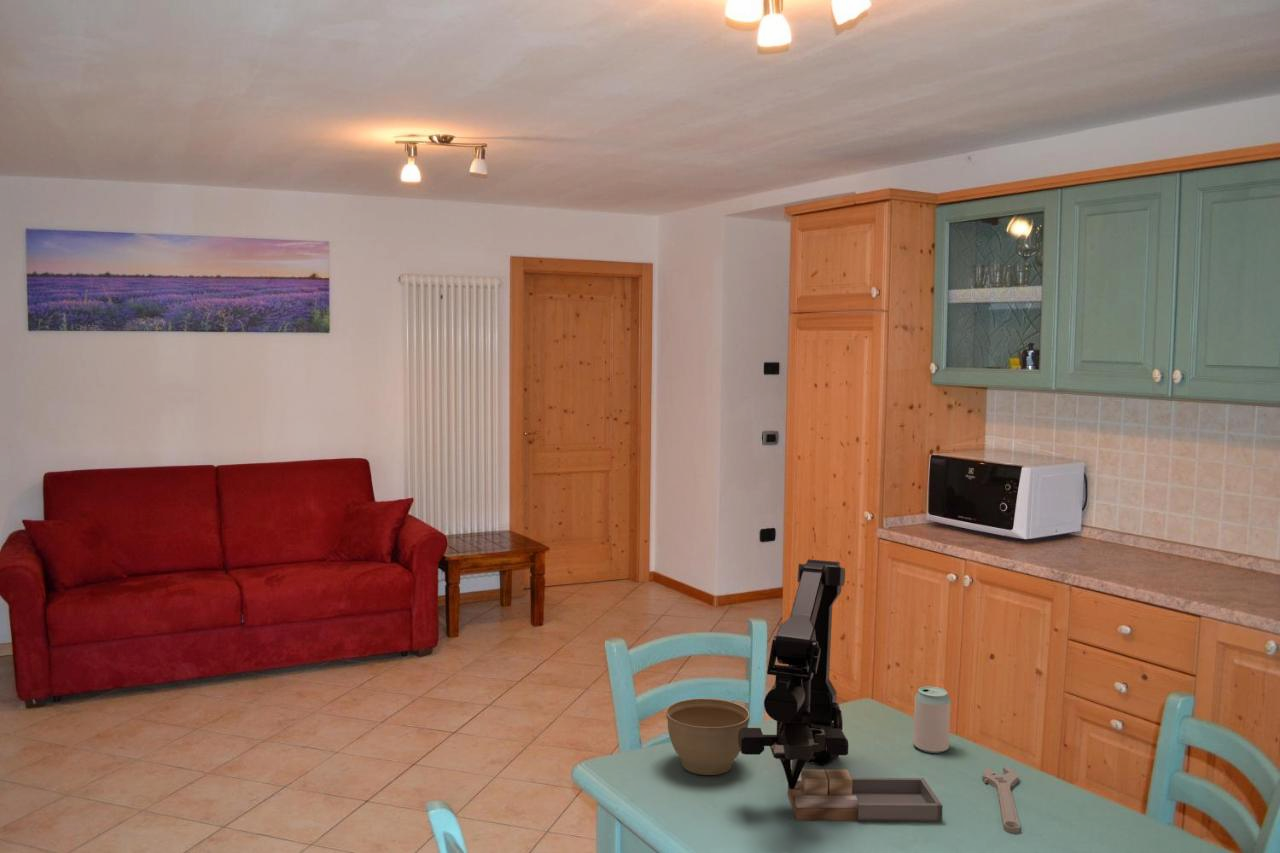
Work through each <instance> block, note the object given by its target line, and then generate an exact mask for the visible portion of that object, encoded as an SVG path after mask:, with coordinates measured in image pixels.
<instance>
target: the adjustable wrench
mask: <svg viewBox="0 0 1280 853" xmlns="http://www.w3.org/2000/svg"><path fill="white" fill-rule="evenodd" d="M1003 773H1004V774H1003ZM982 781H983V783H984V784H986V785H987V784H988V785H989V784H990V785H989V786H991V787H993V788H994V787H995V788H996V789H995V788H994V789H995V790H996V792H998V793H997V799H998V798H999V799H998V803H999V809H1000V816H1001V817H1000V818H1001V822H1002V828H1003V829H1002V830H1003V831H1005V832H1006V833H1009V834H1014V835H1017V834H1019V833H1020V831H1021V824H1020V820H1019V816H1018V813H1017V810H1016V806H1015V802H1014V798H1013V794H1012V788H1013V787H1014V786H1013V785H1015V784H1016V783H1017V782H1018V783H1019V774H1018V772H1017V771H1015V770H1013V769H1012V768H1009V767H1006V766H1005V767H1002V774H996V772H995V771H993V769H991V767H986V768H985V769H984V770H983V775H982ZM1018 783H1017V784H1018ZM1017 784H1016V785H1017ZM1016 785H1015V786H1016ZM1012 786H1013V787H1012ZM1011 787H1012V788H1011ZM1010 789H1011V790H1010Z"/></svg>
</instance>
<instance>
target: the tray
mask: <svg viewBox="0 0 1280 853" xmlns="http://www.w3.org/2000/svg"><path fill="white" fill-rule="evenodd" d="M851 778H852V796H856V798H857V800H858V801H857V808H858V821H857V822H858V823H865V822H866V823H875V822H876V823H942V822H943V807H944V806H943V804H942V803H941V801H940V800H939V798H938V797H937V796H936V794H935V793H934V791H933V790H932V788H931V786H929V784H928V782H927V781H926V780H925V778H924V777H851Z"/></svg>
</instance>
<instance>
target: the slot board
mask: <svg viewBox="0 0 1280 853" xmlns="http://www.w3.org/2000/svg"><path fill="white" fill-rule="evenodd" d="M787 796H788V797H787V798H788V800H789V802H790V805H791V807H792V810H793V813H794V816H795V819H796V821H857V822H858V808H857V801H858V800H857V798H856V796H815V795H802V793H801V776H799V778H798V780H797V783H796V786H795V788H794V789H790V788H789V785H788V784H787Z"/></svg>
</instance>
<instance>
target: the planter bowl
mask: <svg viewBox="0 0 1280 853" xmlns="http://www.w3.org/2000/svg"><path fill="white" fill-rule="evenodd" d="M665 714H666V715H665V716H666V719H667V730H668V734H669V735H668V736H669V739H670V742H671V744H672V747H673V749H674V751H675V753H676V755H677V756H678V757H679V759H680V760H681V765H682V767H683V768H684V770H686V771H688V772H690V773H692V774H696V775H702V776H717V775H722V774H725V773H727V772H728V771H730V769H732V764H733V762H734V761H735V759H737V757H738V756H739V754H740V752H741V750H740V746H739V742H738V733H739V731H740V729H741V728H749V723H750V722H749V721H750V715H751V714H750V712H749V710H748V709H747V708H746V707H745V706H743V705H742V704H740V703H736V702H733V701H730V700H723V699H718V698H717V699H716V698H689V699H683V700H680V701H677V702H674V703H672V704H670V706H668V707H667V708H666V711H665Z"/></svg>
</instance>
